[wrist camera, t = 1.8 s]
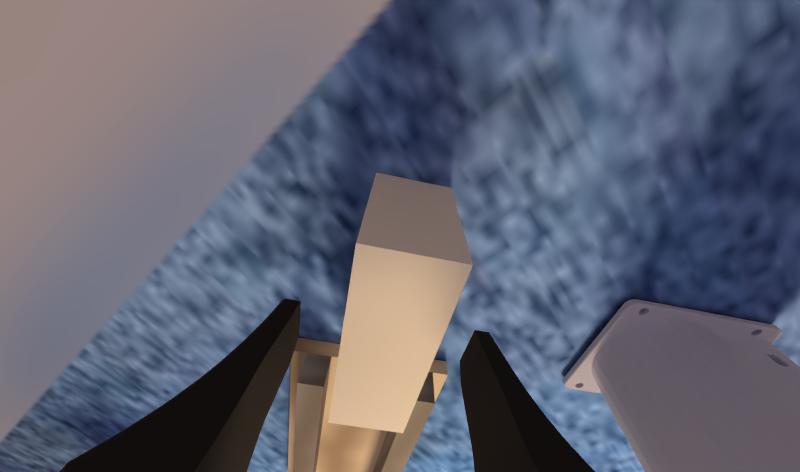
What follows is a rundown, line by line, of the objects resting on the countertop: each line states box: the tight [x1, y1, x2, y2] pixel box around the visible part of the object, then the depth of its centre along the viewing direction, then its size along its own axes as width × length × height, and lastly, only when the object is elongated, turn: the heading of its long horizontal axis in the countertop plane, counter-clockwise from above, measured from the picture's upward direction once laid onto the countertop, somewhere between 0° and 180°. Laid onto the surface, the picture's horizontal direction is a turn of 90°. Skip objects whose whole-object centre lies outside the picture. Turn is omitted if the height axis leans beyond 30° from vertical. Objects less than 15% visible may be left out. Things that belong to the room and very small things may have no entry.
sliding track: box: [288, 338, 448, 472], centre depth 24 cm, size 10×20×3 cm, turn 168°
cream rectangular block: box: [328, 172, 473, 433], centre depth 14 cm, size 4×10×6 cm, turn 168°
